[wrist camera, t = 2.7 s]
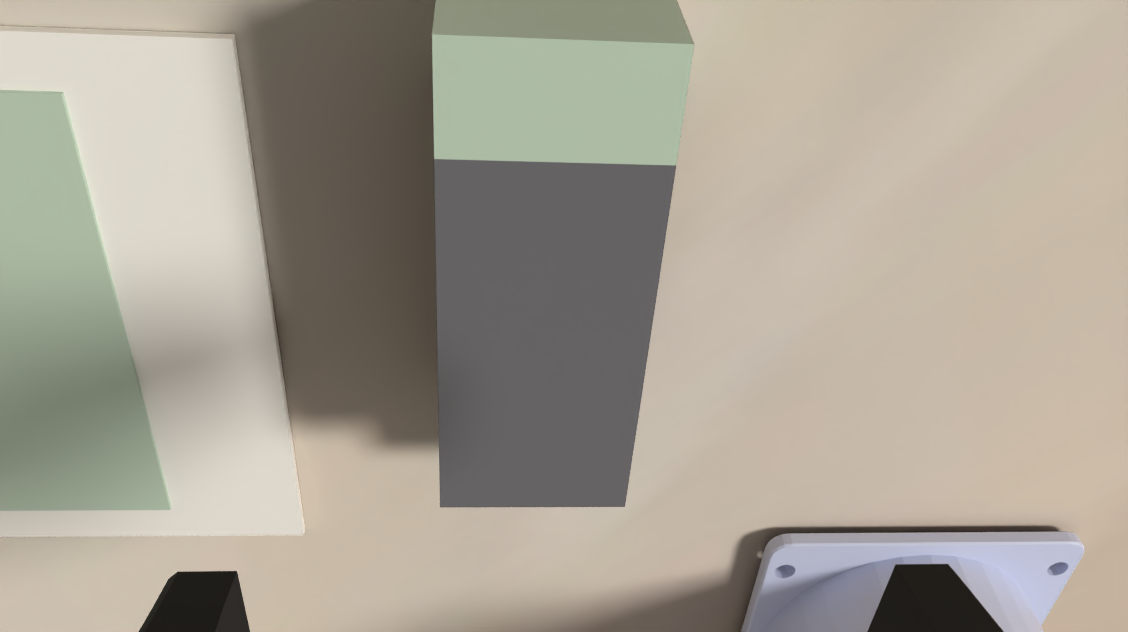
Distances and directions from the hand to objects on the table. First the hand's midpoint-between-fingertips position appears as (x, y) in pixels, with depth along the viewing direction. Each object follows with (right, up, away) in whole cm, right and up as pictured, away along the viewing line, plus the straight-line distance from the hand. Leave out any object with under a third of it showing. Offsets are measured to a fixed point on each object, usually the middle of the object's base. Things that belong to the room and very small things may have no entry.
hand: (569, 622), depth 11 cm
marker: (-1, +6, +7) cm, 9 cm away
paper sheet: (-11, +3, +8) cm, 14 cm away
